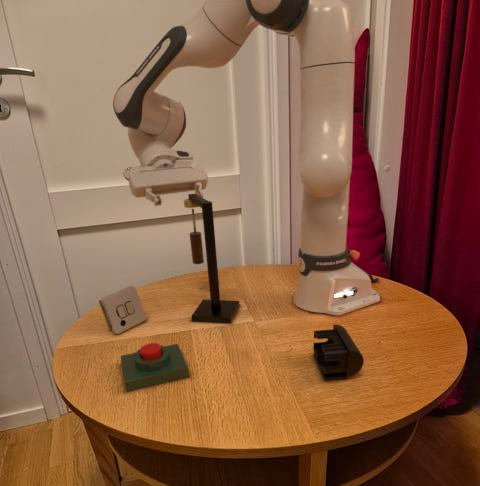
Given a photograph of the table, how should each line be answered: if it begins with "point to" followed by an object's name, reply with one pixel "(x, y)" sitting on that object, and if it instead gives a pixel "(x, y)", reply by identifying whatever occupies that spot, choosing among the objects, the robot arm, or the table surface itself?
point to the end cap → (337, 354)
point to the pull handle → (196, 244)
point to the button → (151, 351)
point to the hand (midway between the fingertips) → (179, 200)
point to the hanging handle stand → (211, 271)
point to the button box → (153, 368)
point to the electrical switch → (122, 309)
